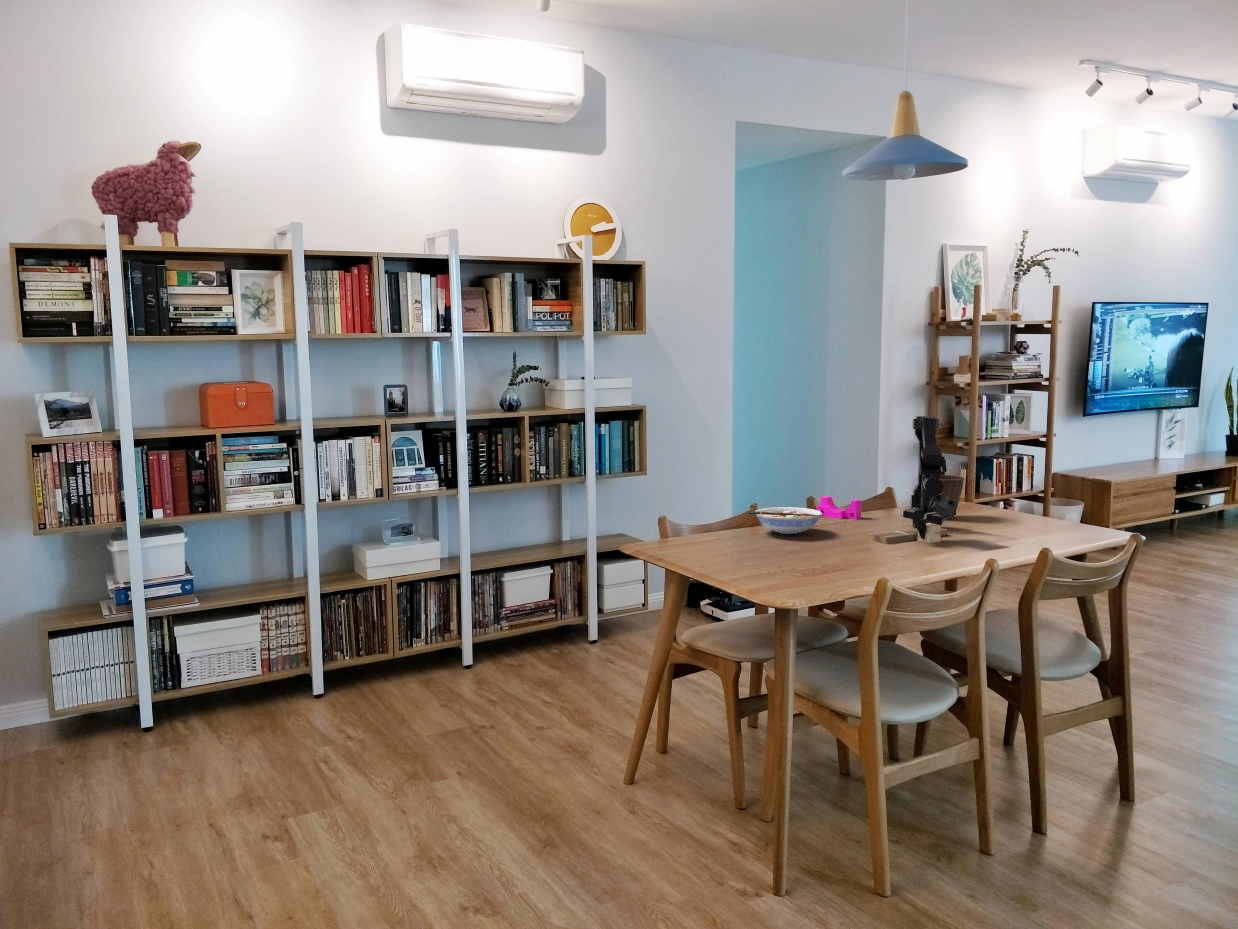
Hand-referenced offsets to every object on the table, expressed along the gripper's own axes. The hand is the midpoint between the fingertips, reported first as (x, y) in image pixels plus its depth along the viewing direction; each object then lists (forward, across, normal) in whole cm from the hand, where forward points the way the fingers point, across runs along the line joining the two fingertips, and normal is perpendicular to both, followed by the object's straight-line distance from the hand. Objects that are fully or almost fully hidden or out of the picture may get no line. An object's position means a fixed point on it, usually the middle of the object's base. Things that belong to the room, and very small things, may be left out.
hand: (929, 538), depth 318 cm
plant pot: (+1, +34, +27) cm, 43 cm away
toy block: (+2, +4, +49) cm, 49 cm away
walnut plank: (+1, -1, +7) cm, 7 cm away
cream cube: (+1, 0, 0) cm, 1 cm away
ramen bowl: (+1, -31, +35) cm, 46 cm away
